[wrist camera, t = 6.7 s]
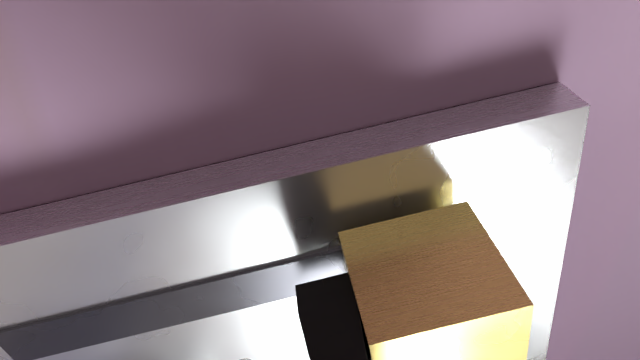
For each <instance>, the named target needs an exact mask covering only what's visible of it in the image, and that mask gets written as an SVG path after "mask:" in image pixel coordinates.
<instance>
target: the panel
mask: <svg viewBox="0 0 640 360" xmlns="http://www.w3.org/2000/svg"><path fill="white" fill-rule="evenodd" d="M589 109H590V105H589V104H588V103H586V102H585V101H584V100H582V99H581V98H580V97H579V96H577V95H576V94H575V93H573V92H572V91H571V90H569V89H568V88H567V87H566V86H564V85H563V84H562V83H560V82H558V83H554V84H549V85H545V86H541V87H537V88H533V89H528V90H524V91H520V92H516V93H512V94H507V95H503V96H499V97H495V98H490V99H486V100H482V101H478V102H474V103H469V104H465V105H461V106H457V107H453V108H448V109H444V110H440V111H436V112H432V113H427V114H423V115H419V116H415V117H411V118H406V119H402V120H398V121H394V122H389V123H385V124H381V125H377V126H373V127H368V128H364V129H360V130H356V131H352V132H347V133H343V134H339V135H335V136H331V137H326V138H322V139H318V140H314V141H310V142H305V143H301V144H297V145H293V146H288V147H284V148H280V149H276V150H272V151H267V152H263V153H259V154H255V155H251V156H246V157H242V158H238V159H234V160H230V161H225V162H221V163H217V164H213V165H209V166H204V167H200V168H196V169H192V170H187V171H183V172H179V173H175V174H171V175H166V176H162V177H158V178H154V179H150V180H145V181H141V182H137V183H133V184H129V185H124V186H120V187H116V188H112V189H108V190H103V191H99V192H95V193H91V194H86V195H82V196H78V197H74V198H70V199H65V200H61V201H57V202H53V203H49V204H44V205H40V206H36V207H32V208H28V209H23V210H19V211H15V212H11V213H6V214H2V215H0V360H310V359H309V355H308V351H307V347H306V343H305V339H304V335H303V332H302V328H301V324H300V320H299V316H298V309H297V300H296V289H295V285H299V284H303V283H307V282H311V281H315V280H319V279H323V278H327V277H331V276H335V275H339V274H343V273H347V271H346V267H345V262H344V258H343V253H342V248H341V244H340V239H339V234H338V232H340V231H344V230H349V229H353V228H357V227H361V226H365V225H369V224H373V223H378V222H382V221H386V220H390V219H394V218H398V217H402V216H407V215H411V214H415V213H419V212H423V211H427V210H432V209H436V208H440V207H444V206H448V205H452V204H456V203H461V202H465V201H468V203H469V205H470V206H471V208H472V209H473V211H474V212H475V214H476V215H477V217H478V219H479V220H480V222H481V223H482V225H483V226H484V228H485V230H486V231H487V233H488V234H489V236H490V237H491V239H492V240H493V242H494V244H495V245H496V247H497V248H498V250H499V251H500V253H501V255H502V256H503V258H504V259H505V261H506V262H507V264H508V265H509V267H510V269H511V270H512V272H513V273H514V275H515V276H516V278H517V279H518V281H519V283H520V284H521V286H522V287H523V289H524V290H525V292H526V294H527V295H528V297H529V298H530V300H531V301H532V303H533V304H534V308H533V315H532V323H531V330H530V338H529V345H528V353H527V360H546V354H547V348H548V343H549V337H550V331H551V326H552V320H553V314H554V309H555V303H556V297H557V291H558V286H559V280H560V274H561V269H562V263H563V257H564V252H565V246H566V240H567V234H568V229H569V223H570V217H571V212H572V206H573V200H574V195H575V189H576V183H577V177H578V172H579V166H580V160H581V155H582V149H583V143H584V138H585V132H586V126H587V120H588V115H589Z"/></svg>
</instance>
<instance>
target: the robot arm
mask: <svg viewBox="0 0 640 360" xmlns="http://www.w3.org/2000/svg"><path fill="white" fill-rule="evenodd" d="M295 289H296V300H297V309H298V316H299V320H300V324H301V328H302V332H303V335H304V339H305V343H306V347H307V351H308V355H309V359H310V360H369V355H368V351H367V346H366V341H365V336H364V332H363V327H362V322H361V317H360V313H359V308H358V305H357V301H356V298H355V294H354V291H353V287H352V284H351V281H350V277H349V274H348V272H347V273H343V274H339V275H335V276H331V277H327V278H323V279H319V280H315V281H311V282H307V283H303V284H299V285H295Z"/></svg>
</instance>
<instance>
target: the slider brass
mask: <svg viewBox="0 0 640 360" xmlns="http://www.w3.org/2000/svg"><path fill="white" fill-rule="evenodd" d="M338 234H339V239H340V244H341V248H342V253H343V258H344V262H345V267H346V271H347V272H348V274H349V277H350V281H351V284H352V287H353V291H354V294H355V298H356V301H357V305H358V308H359V313H360V317H361V322H362V327H363V332H364V336H365V341H366V346H367V351H368V355H369V360H527V353H528V345H529V338H530V330H531V323H532V315H533V308H534V304H533V303H532V301H531V300H530V298H529V297H528V295H527V294H526V292H525V290H524V289H523V287H522V286H521V284H520V283H519V281H518V279H517V278H516V276H515V275H514V273H513V272H512V270H511V269H510V267H509V265H508V264H507V262H506V261H505V259H504V258H503V256H502V255H501V253H500V251H499V250H498V248H497V247H496V245H495V244H494V242H493V240H492V239H491V237H490V236H489V234H488V233H487V231H486V230H485V228H484V226H483V225H482V223H481V222H480V220H479V219H478V217H477V215H476V214H475V212H474V211H473V209H472V208H471V206H470V205H469V203H468V201H465V202H461V203H456V204H452V205H448V206H444V207H440V208H436V209H432V210H427V211H423V212H419V213H415V214H411V215H407V216H402V217H398V218H394V219H390V220H386V221H382V222H378V223H373V224H369V225H365V226H361V227H357V228H353V229H349V230H344V231H340V232H338Z"/></svg>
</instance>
